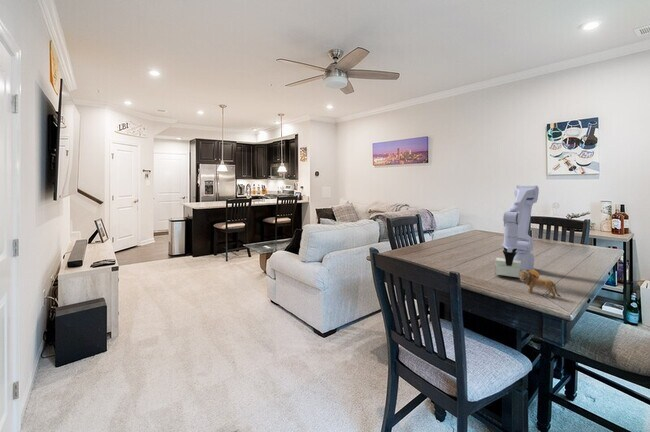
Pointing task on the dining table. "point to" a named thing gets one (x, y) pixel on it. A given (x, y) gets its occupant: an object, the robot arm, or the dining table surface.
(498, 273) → the pale green block
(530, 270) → the ball
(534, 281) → the lion figurine
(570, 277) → the dining table surface
